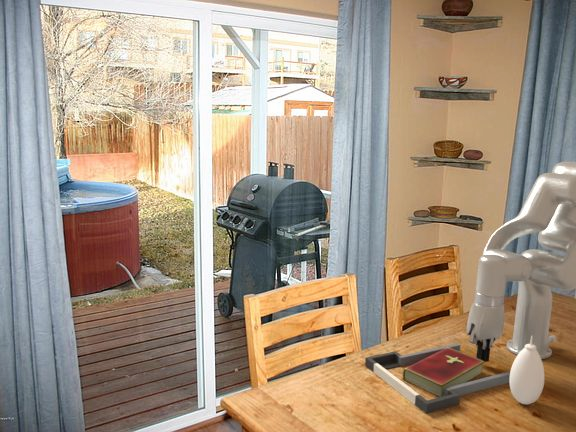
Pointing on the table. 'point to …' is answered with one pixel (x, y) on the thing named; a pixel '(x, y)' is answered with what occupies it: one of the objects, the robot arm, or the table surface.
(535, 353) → the rubber air blower
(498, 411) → the table surface
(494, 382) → the grey u-shaped frame
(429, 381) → the hardcover book
